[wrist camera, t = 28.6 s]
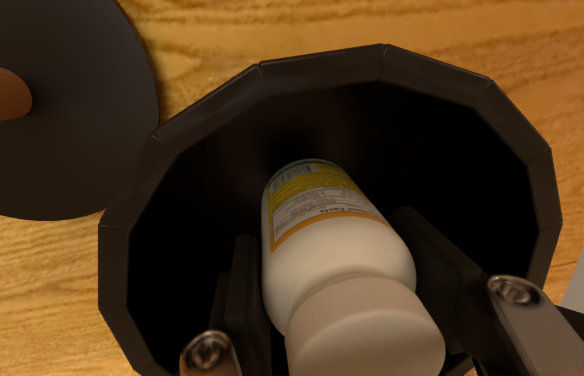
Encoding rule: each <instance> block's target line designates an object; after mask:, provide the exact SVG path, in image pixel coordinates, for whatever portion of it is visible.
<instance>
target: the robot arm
mask: <svg viewBox="0 0 584 376" xmlns="http://www.w3.org/2000/svg"><path fill="white" fill-rule="evenodd" d="M390 225H391V227H392V228H393V229H394V230H395V232H396V233H397V234H398V235H399V236H400V238H401V239H402V240H403V242H404V243H405V244H406V246H407V247H408V249H409V251H410V253H411V255H412V258H413V261H414V264H415V269H416V290H415V294H416V296H417V297H418V298H419V300H420V301H421V303H422V304H423V306H424V307H425V309H426V310H427V312H428V313H429V315H430V316H431V318H432V319H433V321H434V322H435V324H436V325H437V327H438V329H439V331H440V332H441V334H442V337H443V339H444V342H445V346H446V348H447V349H448V351H449V352H450V354H451V355H453V354H458V353H463V352H466V354H467V355H469V356H471V357H472V361H473V364H474V366H475V369H476V372H477V374H478V376H584V314H583V313H579V312H576V311H573V310H570V309H566V308H563V307H560V306H557V305H554V304H553V303H552V302H551V300H550V299H549V298H548V297H547V295H546V294H545V293H544V292H543V291H542V290H541V289H540V288H539V287H538V286H537V285H535V284H533V283H532V282H530V281H528V280H526V279H524V278H521V277H518V276H514V275H510V274H494V275H491V276H488V275H487V274H486V273H485V272H484V271H483V270H482V269H481V268H480V267H479V266H478V265H477V264H475V263H474V262H473V261H472V260H471V259H470V258H469V257H468V256H466V255H465V254H464V253H463V252H462V251H461V250H460V249H459V248H457V247H456V246H455V245H454V244H453V243H452V242H451V241H450V240H448V239H447V238H446V237H445V236H444V235H443V234H442V233H440V232H439V231H438V230H437V229H436V228H435V227H434V226H433V225H431V224H430V223H429V222H428V221H427V220H426V219H425V218H424V217H422V216H421V215H420V214H419V213H418V212H417V211H416V210H415V209H413V208H412V207H411V206H403V207H398V208H395V209H394V212H391V214H390ZM261 269H262V260H261V256H260V251H259V247H258V243H257V238H256V236H254V237H251V235H250V234H245V235H239V236H236V240H235V247H234V254H233V260H232V267H231V270H230V271H225V272H220V273H219V276H218V281H217V286H216V291H215V296H214V301H213V306H212V310H211V315H210V320H209V325H208V329H207V330H204V331H202V332H200V333H198V334H197V335H195V336H194V337H193V338H192V339H191V340H189V341H188V343H187V344H186V345H185V347H184V348H183V350H182V353H181V355H180V360H179V369H180V370H179V371H178V372H177V373H176V374H175V375H174V376H272V366H271V341H270V318H269V317H268V314H267V312H266V310H265V307H264V303H263V298H262V285H261Z"/></svg>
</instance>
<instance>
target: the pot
mask: <svg viewBox="0 0 584 376" xmlns="http://www.w3.org/2000/svg"><path fill="white" fill-rule="evenodd" d="M302 159H322V160H326V161H329V162H331V163H334V164H335V165H337V166H339V167H340V168H342V169H343V170H344V171H345V172H346V173H347V174H348V176H349V177H350V178H351V179H352V180H353V181H354V183H355V184H356V185H357V186H358V188H359V189H360V190H361V191H362V192H363V194H364V195H365V196H366V197H367V198H368V199H369V201H370V202H371V203H372V204H373V205H374V206H375V208H376V209H377V210H378V211H379V212H380V214H381V215H382V216H383V217H384V218H385V220H386V221H387V222H388V223H389V224H390V214H391V212H394V209H395V208H398V207H403V206H411V207H412V208H413V209H415V210H416V211H417V212H418V213H419V214H420V215H421V216H422V217H424V218H425V219H426V220H427V221H428V222H429V223H430V224H431V225H433V226H434V227H435V228H436V229H437V230H438V231H439V232H440V233H442V234H443V235H444V236H445V237H446V238H447V239H448V240H450V241H451V242H452V243H453V244H454V245H455V246H456V247H457V248H459V249H460V250H461V251H462V252H463V253H464V254H465V255H466V256H468V257H469V258H470V259H471V260H472V261H473V262H474V263H475V264H477V265H478V266H479V267H480V268H481V269H482V270H483V271H484V272H485V273H486V274H487V275H488V276H491V275H494V274H510V275H514V276H518V277H521V278H524V279H526V280H528V281H530V282H532V283H533V284H535V285H537V286H538V287H539V288H540V289H541V290H543V287H544V284H545V280H546V277H547V274H548V271H549V267H550V264H551V261H552V257H553V254H554V251H555V248H556V244H557V241H558V238H559V235H560V231H561V228H562V225H563V223H562V221H563V218H562V212H561V206H560V200H559V193H558V187H557V181H556V175H555V169H554V163H553V157H552V150H551V148H550V147H549V144H548V143H547V142H546V141H545V139H544V138H543V137H542V136H541V135H540V134H539V133H538V131H537V130H536V129H535V128H534V127H533V126H532V124H531V123H530V122H529V121H528V120H527V119H526V118H525V116H524V115H523V114H522V113H521V112H520V111H519V109H518V108H517V107H516V106H515V105H514V104H513V103H512V101H511V100H510V99H509V98H508V97H507V96H506V94H505V93H504V92H503V91H502V90H501V89H500V88H499V86H498V85H497V84H496V83H495V82H494V81H493V80H491V79H490V78H489V77H487V76H484V75H481V74H478V73H475V72H472V71H469V70H466V69H463V68H460V67H457V66H454V65H451V64H448V63H445V62H442V61H439V60H436V59H433V58H430V57H427V56H424V55H421V54H418V53H415V52H412V51H409V50H406V49H403V48H400V47H397V46H394V45H391V44H381V43H379V44H373V45H366V46H359V47H352V48H346V49H339V50H332V51H325V52H319V53H312V54H305V55H298V56H292V57H285V58H278V59H271V60H265V61H261V62H259V63H258V64H257V63H256V64H253V65H251V66H250V67H248V68H247V69H245V70H243V71H242V72H240V73H239V74H237V75H236V76H234V77H233V78H231V79H230V80H228V81H227V82H225V83H224V84H222V85H221V86H219V87H218V88H216V89H215V90H213V91H211V92H210V93H208V94H207V95H205V96H204V97H202V98H201V99H199V100H198V101H196V102H195V103H193V104H192V105H190V106H189V107H187V108H186V109H184V110H183V111H181V112H180V113H178V114H176V115H175V116H173V117H172V118H170V119H169V120H167V121H166V122H164V123H163V124H161V125H160V126H158V127H157V128H155V129H154V131H153V132H152V133H150V134H149V136H148V138H147V140H146V141H145V143H144V145H143V146H142V148H141V150H140V152H139V153H138V155H137V157H136V159H135V160H134V162H133V164H132V165H131V167H130V169H129V171H128V172H127V174H126V176H125V177H124V179H123V181H122V183H121V184H120V186H119V188H118V190H117V191H116V193H115V195H114V196H113V198H112V200H111V202H110V203H109V205H108V207H107V209H106V210H105V212H104V214H103V215H102V217H101V219H100V223H99V224H98V307H99V311H100V313H101V314H102V316H103V318H104V320H105V321H106V323H107V325H108V326H109V328H110V330H111V332H112V333H113V335H114V337H115V339H116V340H117V342H118V344H119V346H120V347H121V349H122V351H123V353H124V354H125V356H126V358H127V359H128V361H129V363H130V365H131V366H132V368H133V370H136V372H137V373H138V374H140V375H141V376H174V375H175V374H176V373H177V372H178V371H179V370H180V369H179V360H180V355H181V353H182V350H183V348H184V347H185V345H186V344H187V343H188V341H189V340H191V339H192V338H193V337H194V336H195V335H197V334H198V333H200V332H202V331H204V330H207V329H208V325H209V320H210V315H211V310H212V306H213V301H214V296H215V291H216V286H217V281H218V276H219V273H220V272H225V271H230V270H231V267H232V260H233V254H234V247H235V240H236V236H239V235H245V234H250V235H251V237H254V236H256V238H257V243H258V247H259V251H260V256H261V260H262V241H261V203H262V196H263V192H264V190H265V187H266V185H267V184H268V182H269V180H270V179H271V178H272V176H273V175H274V174H275V173H276V172H277V171H278V170H280V169H281V168H282V167H284V166H286V165H288V164H290V163H292V162H295V161H298V160H302ZM270 341H271V366H272V376H289V369H288V361H287V352H286V348H285V336H284V335H282V334H281V333H280V332H279V331H278V330H277V329H276V327H275V326H274V325H273V323H272V322H271V320H270ZM474 367H475V366H474V364H473V361H472V357H471V356H469V355H467V354H466V352H463V353H458V354H453V355H451V354H450V352H449V351H448V349H447V348H446V346H445V360H444V364H443V367H442V369H441V371H440V373H439V375H438V376H464V375H465V374H466V373H467V372H469V371H470V370H471V369H473V368H474Z"/></svg>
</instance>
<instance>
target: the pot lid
mask: <svg viewBox="0 0 584 376" xmlns="http://www.w3.org/2000/svg"><path fill="white" fill-rule="evenodd" d="M161 124H163V107H162V99H161V91H160V87H159V83H158V79H157V75H156V71H155V68H154V66H153V63H152V60H151V58H150V55H149V52H148V50H147V48H146V46H145V44H144V42H143V40H142V38H141V36H140V35H139V33H138V31H137V29H136V28H135V26H134V25H133V23H132V22H131V20H130V18H129V17H128V15H127V14H126V12H125V11H124V10H123V8H122V7H121V6H120V5H119V3H118V2H117V1H116V0H0V215H1V216H7V217H12V218H17V219H24V220H34V221H59V220H68V219H74V218H79V217H83V216H87V215H90V214H93V213H96V212H99V211H101V210H104V209H105V208H107V207H108V205H109V203H110V202H111V200H112V198H113V196H114V195H115V193H116V191H117V190H118V188H119V186H120V184H121V183H122V181H123V179H124V177H125V176H126V174H127V172H128V171H129V169H130V167H131V165H132V164H133V162H134V160H135V159H136V157H137V155H138V153H139V152H140V150H141V148H142V146H143V145H144V143H145V141H146V140H147V138H148V136H149V134H150V133H152V132H153V131H154V129H155V128H157V127H158V126H160V125H161Z"/></svg>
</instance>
